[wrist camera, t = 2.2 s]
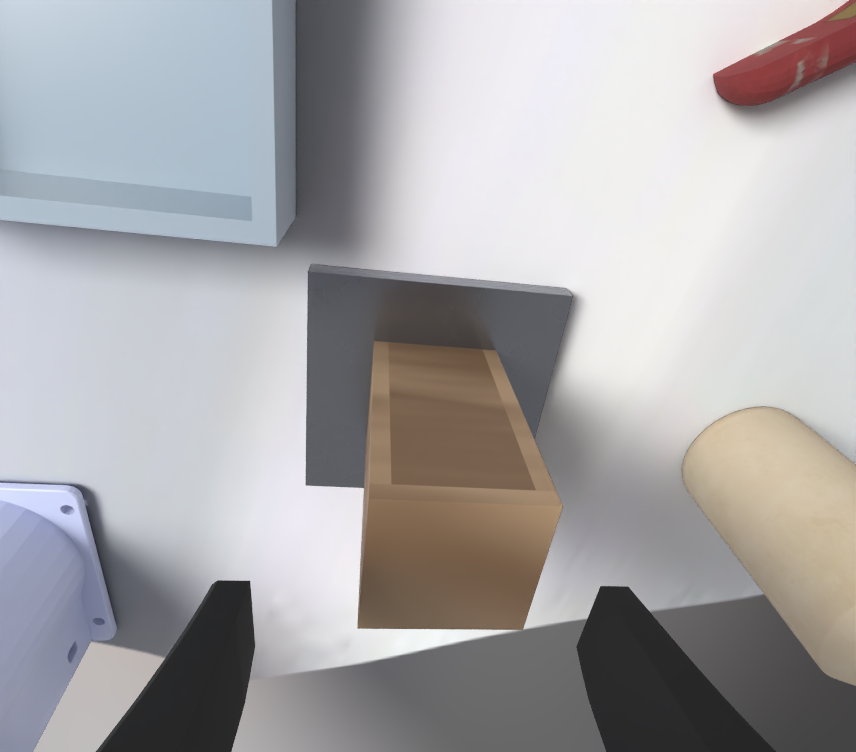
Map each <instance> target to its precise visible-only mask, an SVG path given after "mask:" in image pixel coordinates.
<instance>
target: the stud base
mask: <svg viewBox="0 0 856 752" xmlns="http://www.w3.org/2000/svg"><path fill="white" fill-rule="evenodd" d="M572 298H573V295H572V294H571V293H570V292H569V291H568V290H567V289H566V288H559V287H549V286H538V285H527V284H517V283H506V282H495V281H485V280H474V279H463V278H453V277H442V276H431V275H421V274H410V273H400V272H389V271H378V270H368V269H357V268H346V267H336V266H325V265H314V264H311V265H310V268H309V270H308V321H307V414H306V485H310V486H334V487H358V488H364V477H365V455H366V437H367V425H368V412H369V399H370V387H371V374H372V361H373V348H374V341H380V342H393V343H406V344H419V345H432V346H445V347H458V348H471V349H484V350H496V351H497V354H498V356H499V358H500V361H501V363H502V365H503V368H504V370H505V372H506V375H507V377H508V379H509V382H510V384H511V386H512V389H513V391H514V393H515V396H516V398H517V400H518V403H519V405H520V407H521V410H522V412H523V414H524V417H525V419H526V421H527V424H528V426H529V428H530V431H531V433H532V435H533V438H534V439H535V435H536V432H537V428H538V424H539V420H540V417H541V413H542V409H543V406H544V402H545V398H546V394H547V391H548V387H549V383H550V379H551V376H552V372H553V368H554V365H555V361H556V357H557V353H558V350H559V346H560V342H561V339H562V335H563V331H564V327H565V324H566V320H567V316H568V312H569V309H570V305H571V301H572Z"/></svg>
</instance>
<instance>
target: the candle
mask: <svg viewBox="0 0 856 752" xmlns="http://www.w3.org/2000/svg"><path fill="white" fill-rule="evenodd" d="M682 478H683V482H684V484H685V486H686V488H687V491H688V492H689V494H690V495H691V496H692V498H693V499H694V501H695V502H696V503H697V505H698V506H699V508H700V509H701V510H702V512H703V513H704V514H705V516H706V517H707V518H708V520H709V521H710V522H711V524H712V525H713V526H714V528H715V529H716V530H717V532H718V533H719V534H720V536H721V537H722V538H723V540H724V541H725V542H726V544H727V545H728V546H729V548H730V549H731V550H732V552H733V553H734V554H735V556H736V557H737V558H738V560H739V561H740V562H741V564H742V565H743V566H744V568H745V569H746V570H747V572H748V573H749V574H750V576H751V577H752V578H753V580H754V581H755V582H756V584H757V585H758V586H759V588H760V589H761V590H762V592H763V593H764V594H765V596H766V597H767V598H768V600H769V601H770V602H771V603H772V605H773V606H774V607H775V609H776V610H777V612H778V613H779V614H780V616H781V617H782V618H783V619H784V621H785V622H786V623H787V625H788V626H789V627H790V629H791V630H792V632H793V633H794V634H795V636H796V637H797V638H798V640H799V641H800V642H801V644H802V645H803V646H804V648H805V649H806V650H807V652H808V653H809V654H810V655H811V657H812V658H813V660H814V661H815V662H816V663H817V665H818V666H819V667H820V669H821V670H822V671H823V672H824V673H825V674H827V675H829V676H830V677H832V678H835V679H838V680H841V681H843V682H846V683H849V684H852V685H855V686H856V464H854V463H853V462H852V461H851V460H849V459H848V458H847V457H846V456H844V455H843V454H842V453H841V452H839V451H838V450H837V449H836V448H834V447H833V446H832V445H831V444H829V443H828V442H827V441H826V440H824V439H823V438H822V437H821V436H819V435H818V434H817V433H816V432H814V431H813V430H812V429H811V428H809V427H808V426H807V425H805V424H804V423H803V422H801V421H800V420H799V419H797V418H796V417H795V416H793V415H791V414H789V413H787V412H785V411H783V410H780V409H777V408H772V407H753V408H747V409H743V410H740V411H737V412H734V413H731V414H729V415H727V416H725V417H723V418H721V419H719V420H718V421H716V422H714V423H713V424H712V425H710V426H709V427H708V428H706V429H705V430H704V431H703V432H702V433H701V434H700V435H699V436H698V437H697V438H696V439H695V441H694V442H693V443H692V444H691V446H690V448H689V449H688V451H687V453H686V455H685V457H684V461H683V465H682Z"/></svg>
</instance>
